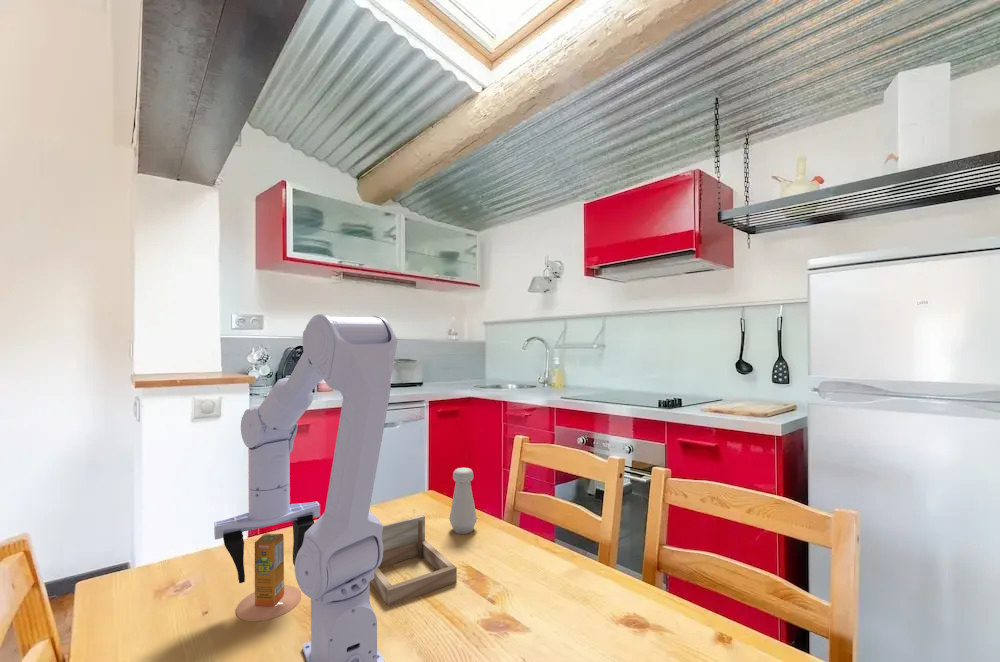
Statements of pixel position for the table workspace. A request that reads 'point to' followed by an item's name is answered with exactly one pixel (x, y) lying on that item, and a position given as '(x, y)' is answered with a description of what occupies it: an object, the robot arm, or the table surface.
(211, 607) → the table surface
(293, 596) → the saucer
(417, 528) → the brown open rectangular frame
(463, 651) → the table surface
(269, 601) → the supplement box
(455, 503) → the salt shaker
